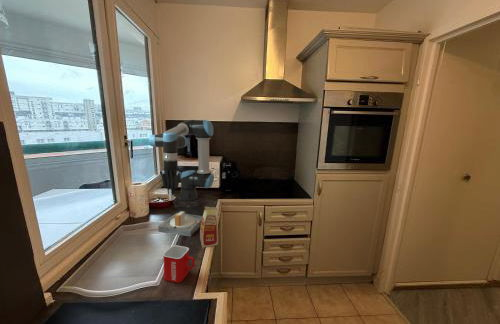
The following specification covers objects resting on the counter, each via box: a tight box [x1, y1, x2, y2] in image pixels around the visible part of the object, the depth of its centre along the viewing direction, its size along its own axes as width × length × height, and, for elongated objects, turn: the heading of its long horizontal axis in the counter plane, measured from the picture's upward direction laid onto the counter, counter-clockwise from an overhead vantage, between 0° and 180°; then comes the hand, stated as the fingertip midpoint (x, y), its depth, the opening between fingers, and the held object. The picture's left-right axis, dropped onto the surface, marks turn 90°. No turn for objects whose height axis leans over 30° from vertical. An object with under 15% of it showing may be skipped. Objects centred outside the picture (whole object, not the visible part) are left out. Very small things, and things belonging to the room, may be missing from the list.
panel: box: [157, 212, 203, 237], centre depth 131 cm, size 20×20×4 cm
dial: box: [170, 211, 196, 228], centre depth 131 cm, size 15×15×7 cm
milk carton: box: [199, 206, 219, 249], centre depth 114 cm, size 9×9×20 cm
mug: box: [162, 244, 195, 284], centre depth 88 cm, size 12×8×11 cm
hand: (171, 199), depth 127 cm, fingers closed
